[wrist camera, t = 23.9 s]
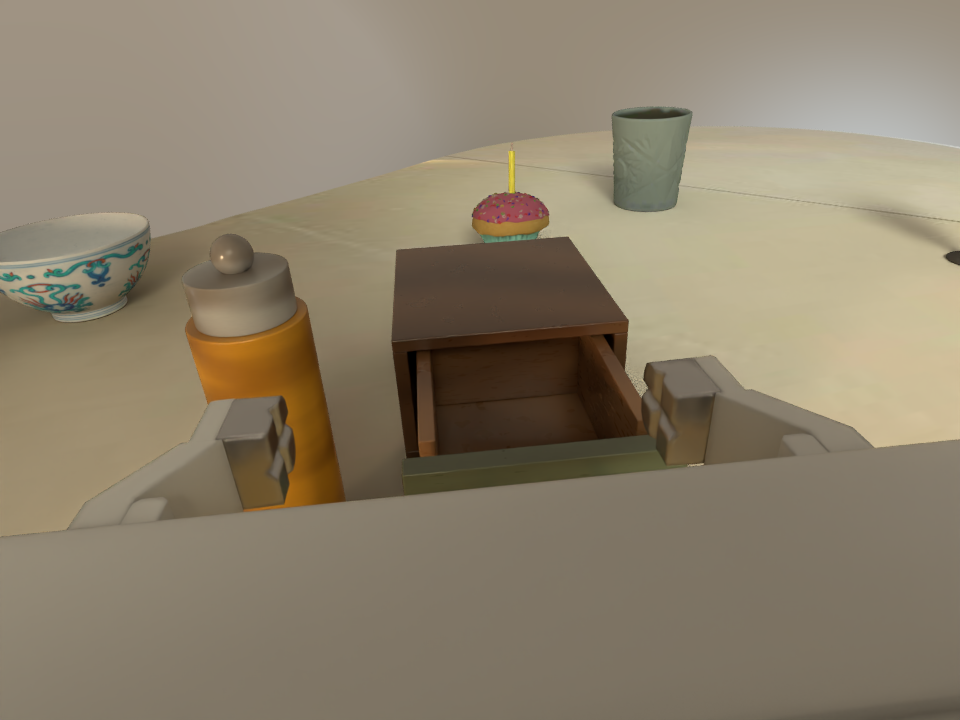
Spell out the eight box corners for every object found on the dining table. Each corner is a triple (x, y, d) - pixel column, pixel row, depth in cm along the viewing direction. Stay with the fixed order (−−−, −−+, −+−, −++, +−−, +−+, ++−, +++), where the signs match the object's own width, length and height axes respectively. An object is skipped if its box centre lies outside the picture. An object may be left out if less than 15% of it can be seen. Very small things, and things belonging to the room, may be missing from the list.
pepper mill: (242, 567, 32) (135, 241, 23) (317, 513, 35) (247, 210, 27) (299, 614, 29) (201, 265, 21) (374, 552, 32) (316, 228, 24)
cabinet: (619, 441, 40) (629, 320, 36) (407, 462, 39) (391, 340, 35) (566, 333, 53) (568, 236, 49) (407, 346, 52) (396, 249, 48)
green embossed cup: (686, 196, 89) (697, 106, 83) (676, 216, 81) (687, 118, 75) (616, 192, 93) (621, 106, 87) (599, 210, 85) (604, 117, 79)
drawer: (710, 635, 26) (736, 515, 23) (418, 670, 25) (400, 551, 22) (595, 398, 43) (600, 308, 39) (414, 415, 42) (404, 324, 38)
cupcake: (481, 243, 75) (476, 139, 69) (551, 244, 74) (553, 138, 68) (467, 268, 68) (460, 155, 62) (545, 270, 66) (546, 154, 60)
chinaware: (97, 348, 55) (64, 265, 51) (-36, 337, 58) (-76, 259, 54) (200, 283, 68) (180, 213, 64) (86, 277, 71) (60, 210, 67)
